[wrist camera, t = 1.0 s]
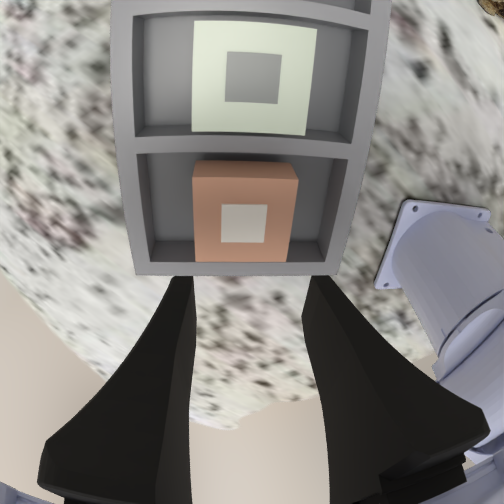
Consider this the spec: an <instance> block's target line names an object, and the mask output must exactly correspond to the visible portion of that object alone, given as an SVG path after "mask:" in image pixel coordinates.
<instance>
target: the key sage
mask: <svg viewBox="0 0 504 504" xmlns="http://www.w3.org/2000/svg"><path fill="white" fill-rule="evenodd" d="M316 35H317V29H313V28H306V27H299V26H292V25H283V24H273V23H262V22H246V21H194V39H193V67H192V132H254V133H274V134H289V135H302V136H305V131H306V123H307V115H308V107H309V99H310V90H311V82H312V73H313V64H314V55H315V45H316Z"/></svg>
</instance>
